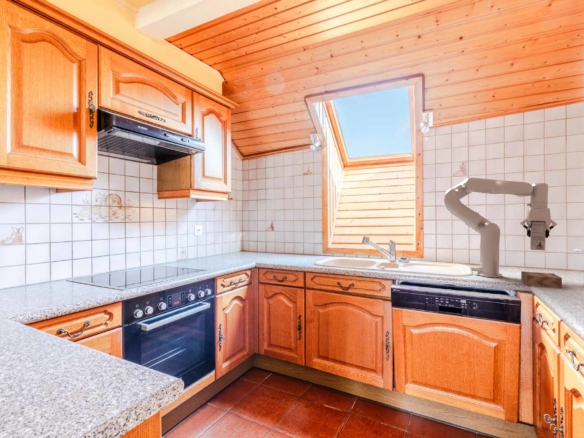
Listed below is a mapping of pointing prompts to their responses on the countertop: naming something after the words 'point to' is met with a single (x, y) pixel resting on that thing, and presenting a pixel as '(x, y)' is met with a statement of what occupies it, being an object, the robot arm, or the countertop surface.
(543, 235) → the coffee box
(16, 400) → the countertop surface
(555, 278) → the block
